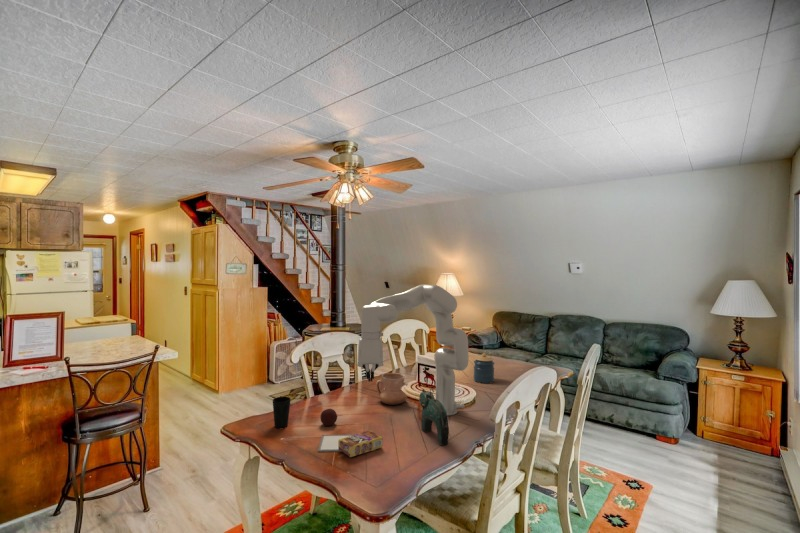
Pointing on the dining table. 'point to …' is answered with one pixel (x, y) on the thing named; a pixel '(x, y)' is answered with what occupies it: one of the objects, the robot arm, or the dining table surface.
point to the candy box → (360, 443)
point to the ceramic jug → (392, 388)
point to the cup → (281, 411)
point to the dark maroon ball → (328, 417)
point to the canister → (484, 369)
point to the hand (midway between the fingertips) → (370, 380)
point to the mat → (330, 443)
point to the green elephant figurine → (434, 416)
